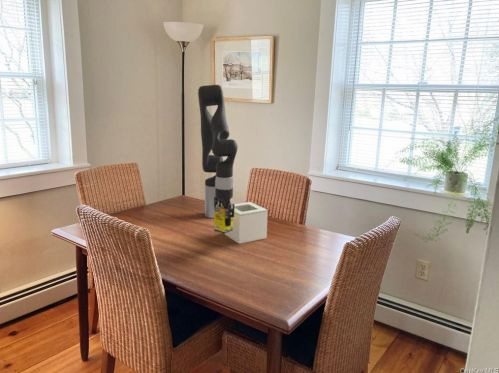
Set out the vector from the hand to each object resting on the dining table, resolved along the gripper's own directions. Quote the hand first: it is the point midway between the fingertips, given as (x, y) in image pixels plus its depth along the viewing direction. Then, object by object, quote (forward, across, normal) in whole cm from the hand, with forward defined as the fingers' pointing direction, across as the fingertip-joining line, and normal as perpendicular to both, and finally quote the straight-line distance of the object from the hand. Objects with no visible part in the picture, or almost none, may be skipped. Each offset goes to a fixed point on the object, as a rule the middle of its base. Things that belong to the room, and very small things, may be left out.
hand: (223, 223), depth 178 cm
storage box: (+11, -8, +16) cm, 21 cm away
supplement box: (+4, 0, 0) cm, 4 cm away
